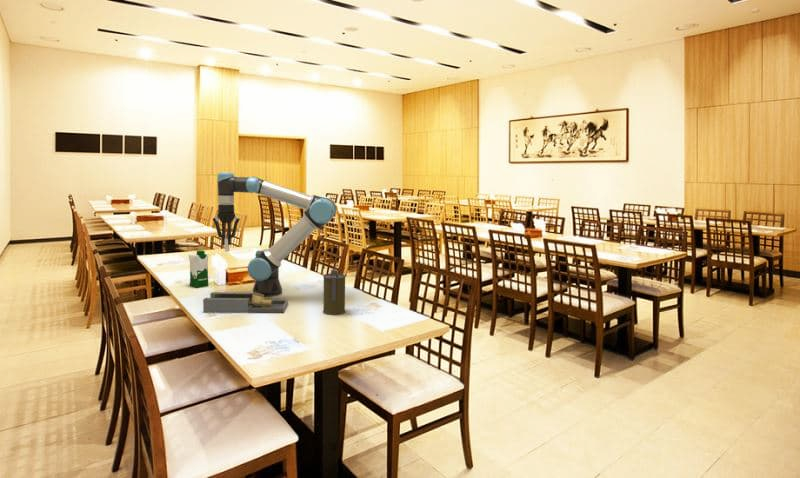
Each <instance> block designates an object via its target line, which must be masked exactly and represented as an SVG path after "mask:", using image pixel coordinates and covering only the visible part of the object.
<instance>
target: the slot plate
mask: <svg viewBox="0 0 800 478" xmlns="http://www.w3.org/2000/svg"><path fill="white" fill-rule="evenodd" d="M253 294H254V293H253V292H243V291H242V292H241V291H239V292H233V291H232V292H231V291H230V292H229V291H227V292H226V291H225V292H224V291H223V292H222V291H221V292H217V291H214V292H213V291H211V292H210V297H204V298H203V299H202V305H203V306H202V308H203V309H202V310H203V311H202V312H203V313H223V314H225V313H228V314H229V313H230V314H232V313H236V314H237V313H238V314H240V313H241V314H245V313H247V314H249V313H248V308H249V306H250V305H251V304H250V303H251V299H252V295H253Z"/></svg>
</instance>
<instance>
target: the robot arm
mask: <svg viewBox="0 0 800 478" xmlns="http://www.w3.org/2000/svg"><path fill="white" fill-rule="evenodd" d="M234 174H235V173H234V172H218V174H217V204H218V205H217V207H218V208H217V215H216V216H215V217H212V221H213V223H214V225H215V229H216V232H217V236H218V238H220V239H221V240H222V246H224V253H228V252H230V246H231V245H232V238H235V237H236V233H237V228H238V223H239V222H240V220H241V218H239V217H237V216H236V214H235V205H234V204H235V193H246V194H247V193H248V194H249V193H250V194H254V193H255V194H258V195H262V196H264V197H268V198H270V199H273V200H277V201H280V202H282V203H285V204H289V205H291V206H294V207H298V208H300V209H304V210H305V211H303V216H302V217H301V219H300V220H298V221H297V222H296V223H294V225H293V226H291V228H289V230H287V232H285V233H284V235H282V236H281V237H280V238H279V239H278V240H276V242H275V243H274V244H273V245H271V246H270V247H269V248H268V249H267V248H265V249H263V250H256V252H255V257H254V258H251V260H249V263H248V264H247V274H248V276H249V277H250V278H251V279H252V280H254V284H253V288H252V293H255V292H256V293H260V294H263V295H264V297H275V296H279V295H281V294H282V293H283V288H282V285H281V282H280V279H279V274H280V273H279V269H280V267H281V266H282V261H283V260H284V259H286V257H287V256H289V255H290V254H291V253H292V252H293V251H294V250H295V249H296V248H297V247H298V246H300V245H301V243H302V242H304V241H305V240H306V239H307V238H308V237H309V236H310V235H311V234H312V233H314V231H315V230H321V229H322V228H323V227H324V226H326V225H327V223H328V222H331V221H332V219H333V218H334V217H335V215H336V213H337V206H336V205H337V204H336V203H335V202H334V200H333V199H331V198H328V197H323V196H319V195H316V194H312V195H309V194H306V193H303V192H301V191H298V190H294V189H291V188H288V187H285V186H283V185H280V184H276V183H274V182H270V181H267V180H264V179H261V178H259V177H257V176H235V175H234ZM219 221H220V222H221V227H220V223H219ZM233 221H234V224H233V228H232V222H233ZM226 231H227V232H226Z"/></svg>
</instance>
